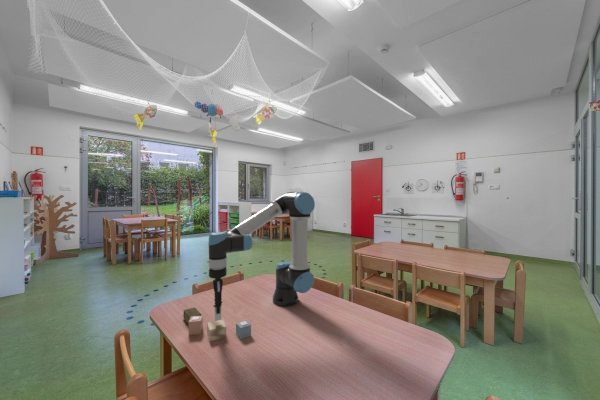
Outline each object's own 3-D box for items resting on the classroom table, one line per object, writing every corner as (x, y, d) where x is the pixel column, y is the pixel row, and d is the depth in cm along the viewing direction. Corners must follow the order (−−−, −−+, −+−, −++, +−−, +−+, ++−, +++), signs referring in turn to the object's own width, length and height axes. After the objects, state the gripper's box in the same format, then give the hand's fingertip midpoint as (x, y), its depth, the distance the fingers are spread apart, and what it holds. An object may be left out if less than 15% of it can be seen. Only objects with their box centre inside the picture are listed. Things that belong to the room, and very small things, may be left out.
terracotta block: (202, 328, 119) (202, 315, 119) (200, 334, 114) (200, 320, 114) (191, 329, 118) (191, 315, 118) (188, 335, 113) (188, 321, 113)
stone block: (190, 328, 119) (190, 317, 119) (182, 319, 127) (182, 309, 127) (202, 324, 123) (202, 314, 122) (194, 315, 131) (194, 306, 131)
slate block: (246, 330, 117) (246, 319, 117) (250, 335, 113) (251, 323, 113) (235, 334, 114) (236, 322, 114) (240, 339, 110) (240, 327, 110)
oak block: (223, 330, 118) (223, 319, 118) (226, 337, 111) (226, 326, 111) (207, 333, 114) (207, 322, 114) (209, 341, 108) (209, 330, 108)
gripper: (208, 264, 118) (208, 314, 118) (209, 272, 105) (209, 328, 106) (225, 262, 120) (225, 311, 121) (227, 270, 108) (228, 325, 109)
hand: (217, 319), depth 113 cm, fingers closed
